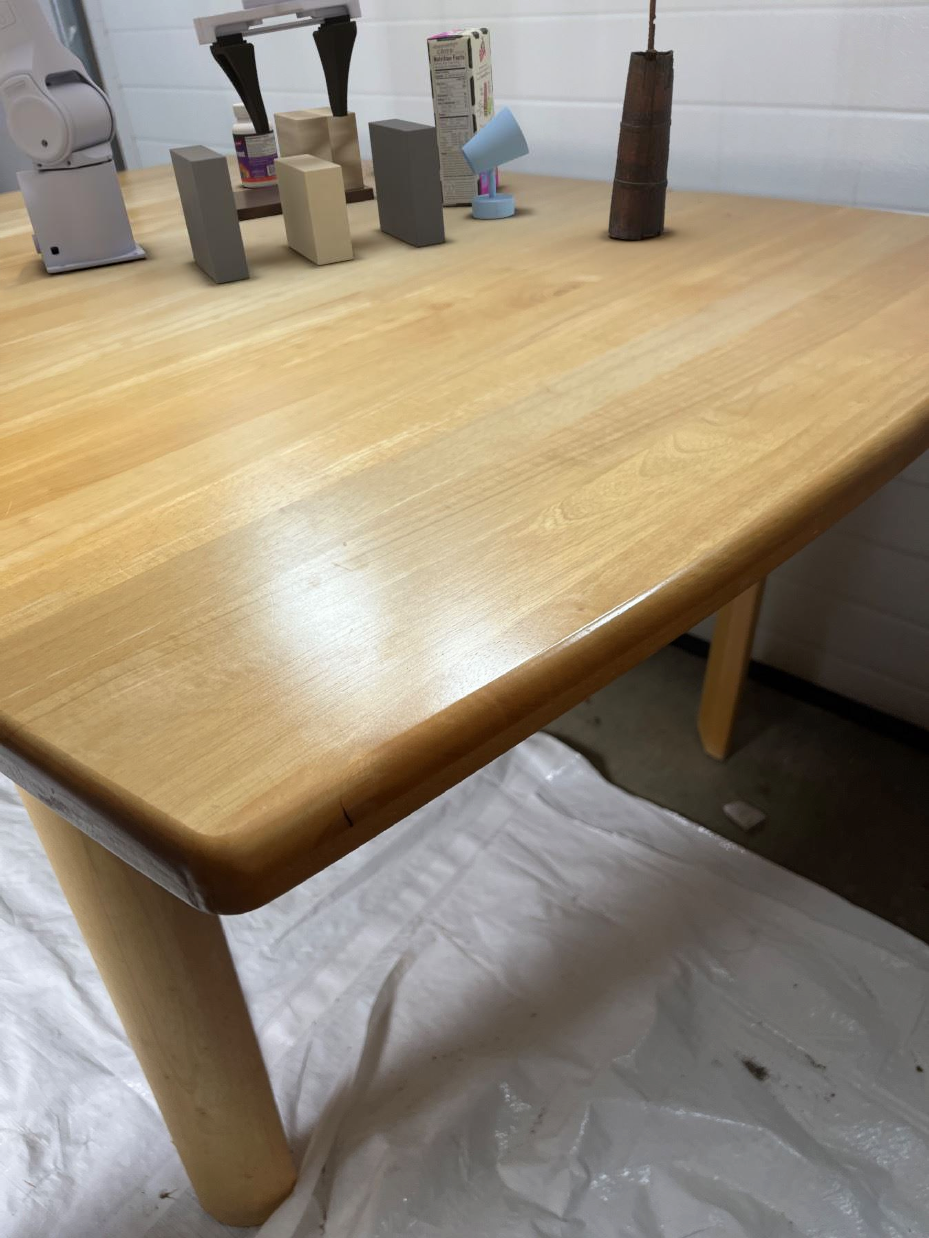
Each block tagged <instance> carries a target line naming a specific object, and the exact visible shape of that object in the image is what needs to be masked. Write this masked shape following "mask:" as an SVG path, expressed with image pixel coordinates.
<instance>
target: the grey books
mask: <svg viewBox="0 0 929 1238" xmlns="http://www.w3.org/2000/svg"><path fill="white" fill-rule="evenodd" d="M367 126H368V134H369V143H370V152H371V160H372V167H373V168H372V169H373V177H374V185H375V193H376V195H375V196H376V202H377V203H376V204H377V210H378V211H377V212H378V220H379V229H380V231H382V232H383V233H386V234H388V235H391V236H392V237H395V238H397V239H399V240H402V241H404V242H406V243H408V244H410V245H411V246H414V247H416V248H422V247H426V246H433V245H438V244H444V243H446V233H445V220H444V209H443V207H444V206H443V205H442V194H441V181H440V168H439V156H438V143H437V130H436V127H435V125H434V126H433V125H428V124H423V123H419V122H413V121H408V120H404V119H398V118H391V119H382V120H375V121H369V122H368V123H367ZM169 154H170V158H171V164H172V168H173V172H174V177H175V182H176V185H177V189H178V190H177V191H178V194H179V198H180V203H181V208H182V211H183V216H184V220H185V225H186V229H187V234H188V239H189V243H190V247H191V251H192V256H193V260H194V263H195V264H196V265H197V266H198V267H199V268H200V269H202V270H203V271H204V272H205V273H206V275H208V276H209V278H211V279H212V280H213V281H214V282H215V283H216V284H217V285H220V284H225V283H230V282H236V281H242V280H246V279H250V271H249V266H248V262H247V261H248V260H247V256H246V251H245V247H244V241H243V237H242V236H243V235H242V231H241V226H240V220H238V215H237V210H236V205H235V200H234V195H233V192H234V189H233V185H232V181H231V175H230V174H231V173H230V170H229V164H228V160H227V156H225V155H223V154H221V153H219V152H217V151H215V150H212V149H211V148H208V147H206V146H204V145H202V144H197V145H191V146H183V147H176V148H175V147H174V148H169Z"/></svg>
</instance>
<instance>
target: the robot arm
mask: <svg viewBox="0 0 929 1238" xmlns="http://www.w3.org/2000/svg"><path fill="white" fill-rule="evenodd" d="M241 3H242V9H239V10H234V11H227V12H223V13H216V14H210V15H205V16H198V17H194V18H193V19H192V21H193V25H194V26H193V27H194V29H195V33H196V37H197V41H198V45H199V46H202V45H208V44H211V45H209V50H210V54H211V56H212V57H213V59H214V61H215V62H216V63H217V65H219V67H220V68H221V70H222V71H223V73H224V74H225V75H226V77H227V78H228V80H229V82H230V83H231V85H232V86H233V88H234V90H235V91H236V93H237V95H238V97H239V98H240V100H241V103H243V104H244V106H245V108H246V110H247V112H248V114H249V116H250V119H251V121H252V123H253V126H254V129H255V131H256V133H260V134H263V133H268V132H270V129H269V123H268V121H269V118H268V114H267V111H266V107H265V106H266V105H265V103H264V99H263V95H262V91H261V87H260V82H259V76H258V75H259V74H258V69H257V61H256V52H255V45H254V44H253V43H252V42H248V40H247V39H244V38H246V37H253V36H258V35H259V36H260V35H264V34H270V33H275V32H282V31H288V30H293V29H299V28H300V29H301V28H306V27H312V26H316V25H317V30H314V31H313V32H312V34H311V35H312V38H313V41H314V44H315V48H316V50H317V54H318V56H319V58H320V64H321V67H322V70H323V74H324V79H325V85H326V91H327V97H328V101H329V102H328V103H329V107H331V111H332V114H333V117H344V116H348V111H349V110H348V109H349V108H348V92H349V91H348V90H349V76H350V67H351V62H352V61H351V60H352V55H353V51H354V46H355V42H356V38H357V35H358V27H357V21H356V20H352V19H358V18H359V19H360V18H362V11H361V5H360V0H241ZM289 15H295V16H296V19H302V20H297V21H296V20H295V21H291V22H285V23H284V22H283V23H279V24H273V25H267V26H261V25H264V21H263V20H266V19H271V18H276V17H277V18H278V17H282V16H289ZM309 17H310V18H309ZM303 18H306V19H303ZM307 18H308V19H307ZM351 20H352V21H351ZM318 25H319V26H318ZM256 26H260V27H256ZM251 27H255V28H251ZM0 101H1V103H2V106H3V109H4V114H5V123H6V127H7V131H8V133H9V136H10V138H11V140H12V142H13V144H14V145H15V146H16V148H17V149H18V151H20V152H21V153H22V155H24V156H25V157H26V158H27V159H29V160H30V161H31V165H32V168H33V169H28V170H21V171H20V170H19V171H17V172H15V176H16V179H17V183H18V186H19V188H20V192H21V196H22V199H23V202H24V205H25V208H26V211H27V214H28V218H29V222H30V224H31V227H32V230H33V233H34V234H31V238H32V242H33V245H34V247H35V251H36V253H37V255H40V256H41V259H42V262H43V264H44V267H45V269H46V272H47V273H48V274H57V273H62V272H67V271H74V270H79V269H86V268H91V267H96V266H103V265H108V264H109V265H110V264H115V263H120V262H126V261H132V260H139V259H143V258H146V257H147V253H146V252H145V250H144V249H143V248H142V247H141V245H139V243H138V242H137V241H136V240H135V238H134V234H133V231H132V230H133V229H132V226H131V223H130V222H131V221H130V218H129V214H128V211H127V207H126V204H125V199H124V195H123V191H122V187H121V184H120V180H119V176H118V172H117V168H116V165H115V159H114V158H113V155H114V154H113V149H112V146H111V145H112V144H111V142H112V141H113V139H114V137H115V135H116V132H117V117H116V112H115V109H114V107H113V104H112V102H111V100H110V99H109V96H107V93H105V92H104V91H103V90H102V89H101V88H100V86H98V85H97V84H96V83H95V82H94V81H93V79H92V78H91V77H90V76H89V73H88V72H87V70H86V68H85V66H84V64H83V62H82V61H81V59H79V58H78V57H77V56H76V55H75V54H74V53H73V52H71V50H70V49H68V48H67V47H66V46H65V45H64V44H62V43H61V42H60V41H59V40H58V39H57V37H56V36H55V33H54V31H53V29H52V26H51V25H50V22H49V21H48V18H47V17H46V14H45V13H44V10H43V9H42V7H41V5H40V3H39V0H0Z"/></svg>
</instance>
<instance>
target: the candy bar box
mask: <svg viewBox="0 0 929 1238" xmlns="http://www.w3.org/2000/svg"><path fill="white" fill-rule="evenodd" d="M490 38H491V35H490V27H488V26H480V27H479V26H478V27H466V28H457V29H456V28H455V29H452V30H448V31H445V32H442V33H438V34H436V35H433V36H431V37H427V38H426V47H427V55H428V66H429V67H428V68H429V78H430V87H431V89H430V90H431V99H432V100H431V101H432V109H433V117H434V118H433V119H434V127H436V130H437V143H438V156H439V168H440V181H441V194H442V206H443V207H460V206H462V207H463V206H464V207H465V206H472V198H474V197H476V196H479V195H484V194H489V185H488V173H487V172H486V171H485V172H482V173H480V174H477V175H474V174H473V172H472V171H471V169H470V167H469V165H468V164H467V162H466V160H465V158H464V155H463V153H462V150H461V148H462V147H463V146H464V145H465V144H467V143H468V142H469V141H470V140H471V139H472V138H473V137H474V136H475V135H476V134H477V133H478V132H479V131H480V130H481V129H482V128H483V127H484V126H485V125H486V124H487V123H488V122H489V121H490V120H492V119H493V118H494V117H495V106H494V104H495V102H494V88H493V71H492V70H493V69H492V55H491V53H492V52H491V41H490V40H491V39H490ZM498 169H499V168H498V166H497V167H494V170H495V179H496V188H497V187H498V186H499V184H500V183H499V170H498Z"/></svg>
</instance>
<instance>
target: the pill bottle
mask: <svg viewBox="0 0 929 1238" xmlns="http://www.w3.org/2000/svg"><path fill="white" fill-rule="evenodd" d="M232 109H233V115H234V117H235V118H236V122H235V123H234V124H232V127H231V133H232V139H233V144H234V149H235V150H234V151H235V154H236V160H237V165H238V169H239V174H240V180H241V184H242V186H243V187H245V188H248V189H256V188H263V187H269V186H276V185H278V182H277V176H276V170H275V165H274V159H277V158H279V154H278V149H277V142H276V136H275V130H274V126H273V123H272V122H271V121H270V120H268V123H269V129H270V132H268V133H263V134H260V133H256V131H255V129H254V126H253V123H252V121H251V119H250V116H249V114H248V112H247V110H246V108H245V106H244V104H243V102H238V103H234V104H232Z"/></svg>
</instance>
